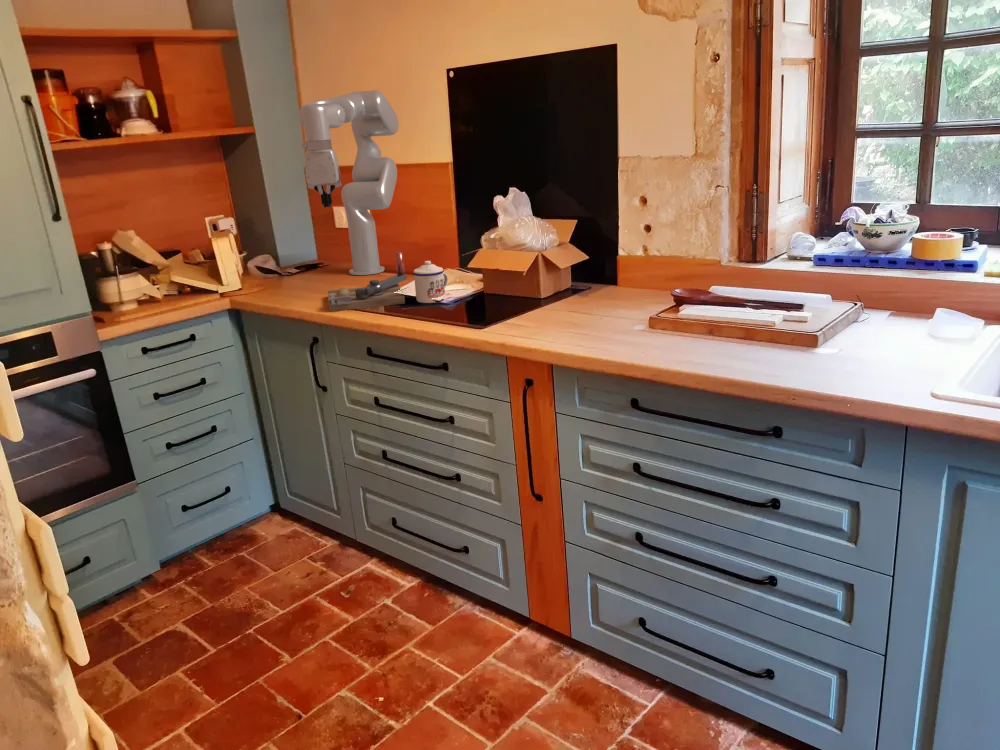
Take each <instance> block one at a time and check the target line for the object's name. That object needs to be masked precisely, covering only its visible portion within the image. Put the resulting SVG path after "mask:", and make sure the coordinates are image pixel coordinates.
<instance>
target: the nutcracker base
mask: <svg viewBox="0 0 1000 750" xmlns="http://www.w3.org/2000/svg"><path fill="white" fill-rule="evenodd" d="M368 282H369V284H371V285H375V284H379V282H380V280H379V279H372V280H369V281H368ZM364 287H365V286H361V287H350V288H347V289H348V290H349V292H350V296H344V297H337V296H336V293H337V291H338V290H339V289H332V290H331V289H329V290H327V292H328V293H327V295H328V296H327V298H328V299H327V300H328V310H329V312H338V311H347V310H355V309H356V310H357V309H358V310H359V309H367V308H376V307H377V308H378V307H384V306H394V305H403V304H406V299H405V298H406V297H405V295H404V293H403V294H397V293H394V292H396V291H398V290H400V289H401V287H400V284H399V283H397V284H394V285H392V286H390V287H387V288H385V289H383V291H381V292H377V293H372V294H370V295H368V297H367V298H365V299H364V298H356V293H355V289H357V288H364Z"/></svg>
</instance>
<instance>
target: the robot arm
mask: <svg viewBox="0 0 1000 750" xmlns="http://www.w3.org/2000/svg"><path fill="white" fill-rule="evenodd" d="M298 119H299V120H298V121H299V122H300V125H302V127H303V129H304V133H305V134H304V135H305V143H302V145H301V146H302V147H301V148H302V149H306V151H305V152H304V172H305V180H306V181H305V182H306V183H307V188H308V189H310V190H315V191H317V193H318V194H319V195H320V199H321V205H323V208H330V207H331V206H332V204H333V198H332V193H333V192H334V191H335V189H336V188H337V189H338V188H340V187H342V186H343V183H342V181H341V171H340V166H339V162H338V159H337V155H336V151H335V149H334V150H333V145H332V137H331V132H330V131H331V130H330V129H339V127H342V126H343V125H344V124H348V123H350V122H351V125H350V126H351V130H352V131H351V132H352V133H353V134H352V135H353V137H354V140H355V143H356V147H357V148H356V149H357V150H356V151H357V152H356V155H355V160H354V163H353V167H352V172H351V175H352V176H351V178H352V180H353V182H349V183H346V184H345V185H344V186H343V187H342V189H341V192H340V193H341V201H342V204H343V208H344V210H345V216H346V219H347V229H348V237H349V245H350V253H351V261H352V268H350V269H349V272H348V273H349V274H350V275H352V276H370V275H375V274H376V275H377V274H380V273H383V272H384V271H385V267H384V266H383V265H380V256H379V255H380V254H379V248H378V247H379V246H378V237H377V230H376V221H375V219H374V217H373V216H372V214H371V213H370V212H369V211H370V210H385V209H389V207H390V206H391V203H392V200H393V197H394V192H395V188H396V185H397V180H398V167H397V165H396V162H395V160H393V159H392V158H390V157H387V156H386V157H385V156H383V157H382V151H381V148H380V147H379V145H378V144H377V142H375V140H373V139H372V137H385V136H393V135H394V136H395V134H396V133H398V131H399V127H400V126H399V125H400V124H399V123H400V122H399V119H398V116H397V114H396V111H395V110H394V109H393V107H392V105H391V103H390V102H389V100H388V98H387V97H386V96H385V95H384V94H383V93H382V92H381V91H379V90H363V91H362V90H359V91H358V90H357V91H352V92H349V93H346V94H343V95H340V96H333V97H330V98H327V99H326V98H325V99H321V100H317V101H312V102H308V103H305V104H303V105H302V106H301V107H300V110H299V112H298ZM324 185H326V190H325V187H324Z"/></svg>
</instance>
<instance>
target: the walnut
mask: <svg viewBox="0 0 1000 750" xmlns="http://www.w3.org/2000/svg"><path fill="white" fill-rule="evenodd" d="M348 289H349V288H346V287H340V288H339V289H337V290H338V291H337V293H336V296H337V297H344V296H350V292H349V290H348Z"/></svg>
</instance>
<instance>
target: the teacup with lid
mask: <svg viewBox="0 0 1000 750" xmlns="http://www.w3.org/2000/svg"><path fill="white" fill-rule="evenodd" d="M423 263H424V264H422V265H420V266H419V267H417V268H415V269H414V270H413V272H412V274H413V279H414V280H413V281H414V289H415V290H414V291H415V299H416V301H417V303H421V304H433V303H436V302H435V301H433V300H431V299H432V298H438V297H441V296H443V295H444V294H445V295H446V292H445V291H446V289H445V288H446V287H447V286H448V283H449V276H448V274H447V273H446V272H444V269H443V267H442V266H441V267H440V266H437V265H436V264H434V263H432V262H431V260H425V261H423Z"/></svg>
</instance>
